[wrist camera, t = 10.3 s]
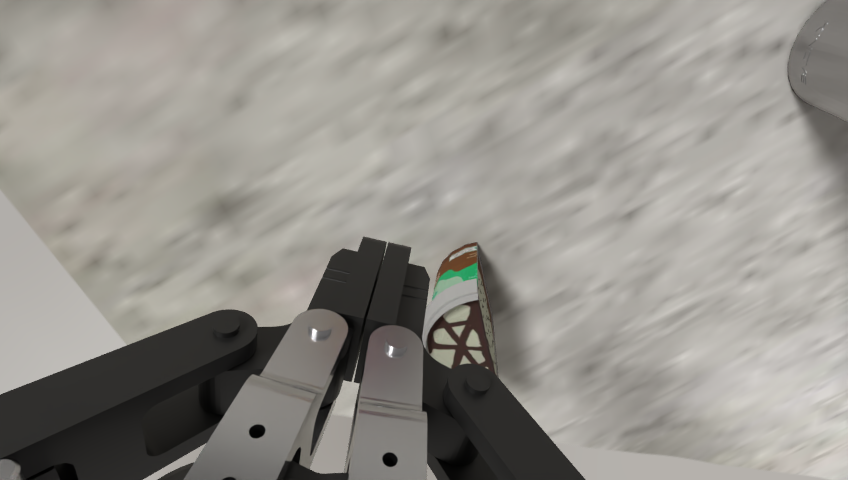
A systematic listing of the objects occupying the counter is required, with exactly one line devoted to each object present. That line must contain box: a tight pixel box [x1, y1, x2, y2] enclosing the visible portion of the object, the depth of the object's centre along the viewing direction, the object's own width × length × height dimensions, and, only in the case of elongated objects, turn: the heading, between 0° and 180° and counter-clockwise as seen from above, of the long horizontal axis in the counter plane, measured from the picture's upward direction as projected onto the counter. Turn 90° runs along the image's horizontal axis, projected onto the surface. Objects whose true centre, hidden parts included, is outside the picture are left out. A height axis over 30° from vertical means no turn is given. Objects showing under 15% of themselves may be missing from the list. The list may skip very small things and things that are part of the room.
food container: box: [422, 242, 498, 377], centre depth 45 cm, size 12×6×10 cm, turn 13°
